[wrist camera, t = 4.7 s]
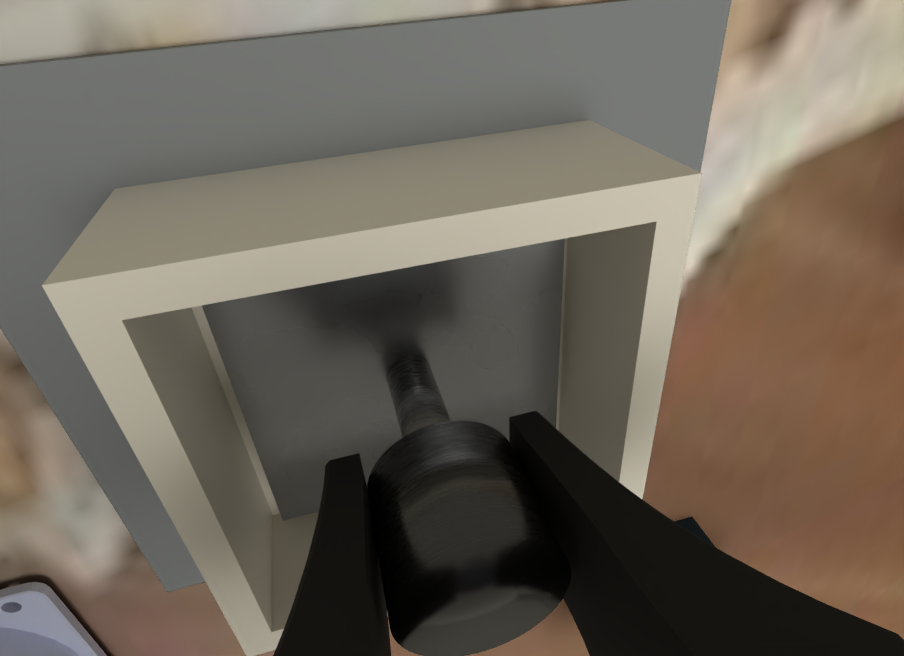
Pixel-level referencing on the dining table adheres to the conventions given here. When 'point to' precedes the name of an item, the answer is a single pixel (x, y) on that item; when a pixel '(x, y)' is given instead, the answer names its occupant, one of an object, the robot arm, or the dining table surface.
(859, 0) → the dining table surface
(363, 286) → the plunger
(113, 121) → the slate mat
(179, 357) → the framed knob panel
